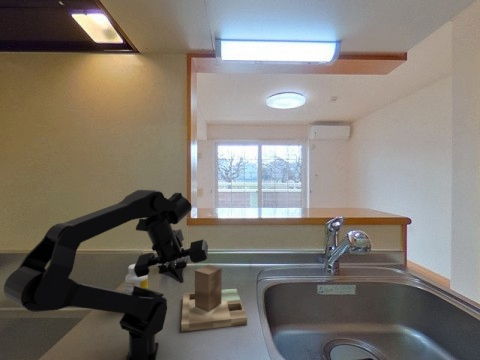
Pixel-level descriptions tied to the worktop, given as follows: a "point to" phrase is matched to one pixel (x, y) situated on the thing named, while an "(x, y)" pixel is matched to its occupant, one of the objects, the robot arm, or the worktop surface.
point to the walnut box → (208, 287)
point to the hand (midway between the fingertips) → (182, 281)
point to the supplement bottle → (134, 280)
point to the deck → (213, 312)
